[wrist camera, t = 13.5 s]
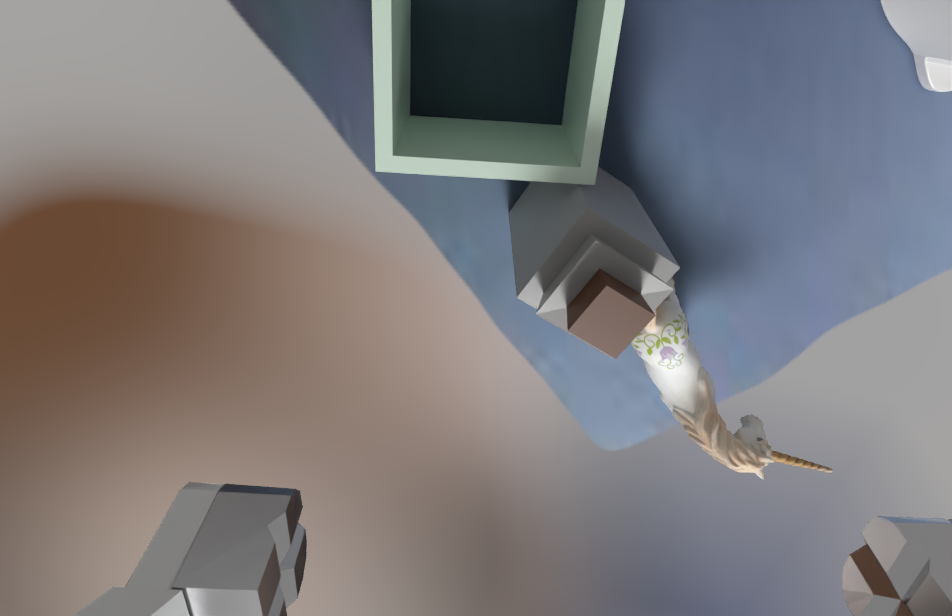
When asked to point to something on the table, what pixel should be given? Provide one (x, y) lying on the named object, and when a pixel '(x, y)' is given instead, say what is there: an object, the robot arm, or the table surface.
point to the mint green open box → (495, 142)
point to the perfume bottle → (590, 260)
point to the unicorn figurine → (701, 394)
